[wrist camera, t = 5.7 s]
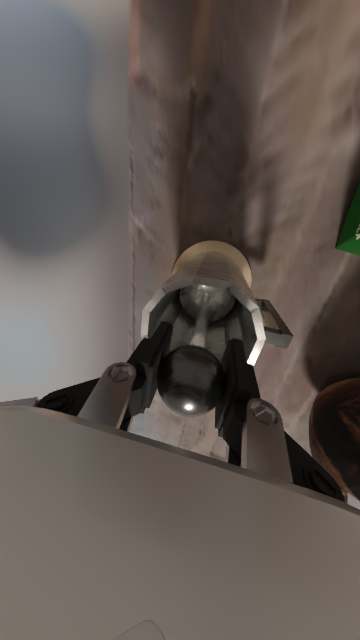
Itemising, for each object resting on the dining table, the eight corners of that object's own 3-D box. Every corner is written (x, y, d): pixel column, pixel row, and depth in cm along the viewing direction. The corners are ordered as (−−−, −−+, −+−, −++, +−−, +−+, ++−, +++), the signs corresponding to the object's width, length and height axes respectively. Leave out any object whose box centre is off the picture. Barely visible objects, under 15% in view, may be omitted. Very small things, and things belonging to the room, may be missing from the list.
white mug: (185, 245, 24) (145, 264, 11) (272, 262, 23) (338, 305, 10) (175, 304, 28) (138, 367, 15) (249, 321, 27) (276, 404, 14)
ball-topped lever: (185, 262, 20) (116, 328, 7) (242, 273, 19) (292, 372, 6) (177, 312, 23) (116, 429, 10) (226, 324, 22) (235, 466, 9)
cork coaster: (178, 233, 24) (177, 233, 23) (263, 249, 23) (264, 249, 22) (167, 309, 29) (166, 309, 29) (236, 325, 28) (236, 326, 28)
